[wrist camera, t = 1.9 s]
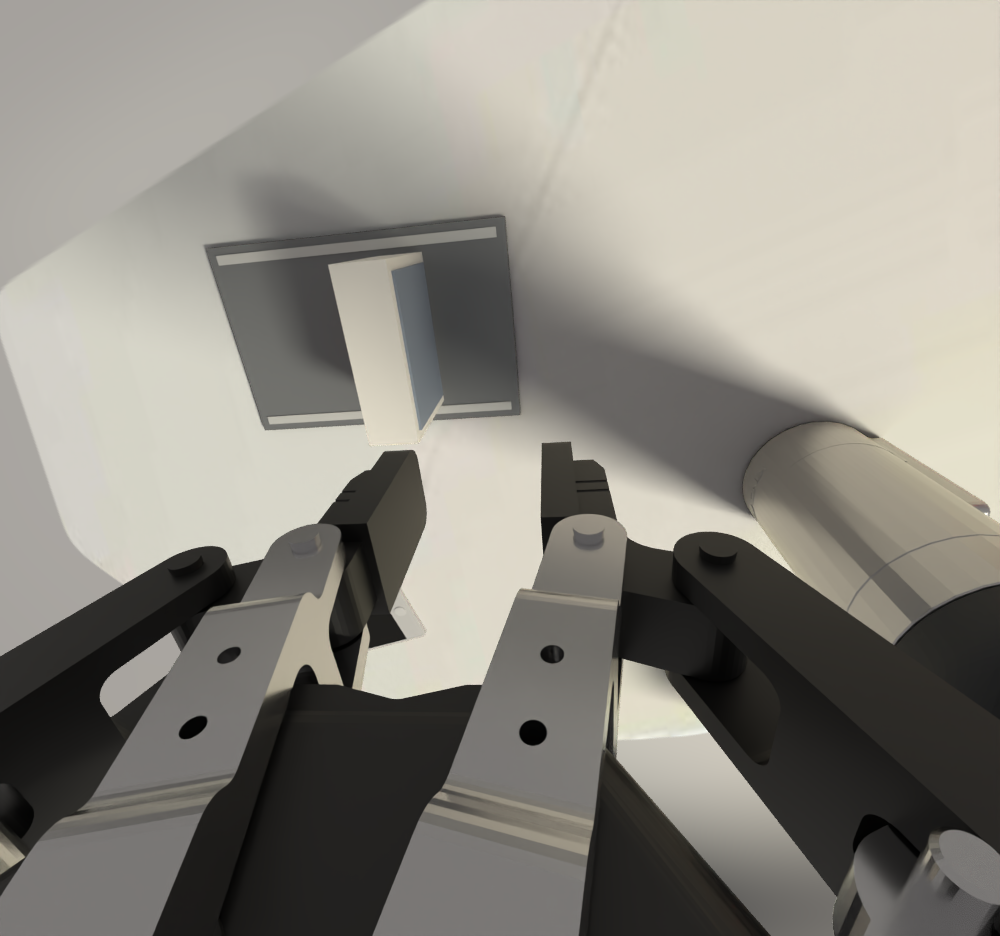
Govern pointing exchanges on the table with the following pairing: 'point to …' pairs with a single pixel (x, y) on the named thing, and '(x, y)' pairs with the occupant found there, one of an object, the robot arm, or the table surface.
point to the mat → (319, 334)
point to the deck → (390, 344)
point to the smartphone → (395, 625)
